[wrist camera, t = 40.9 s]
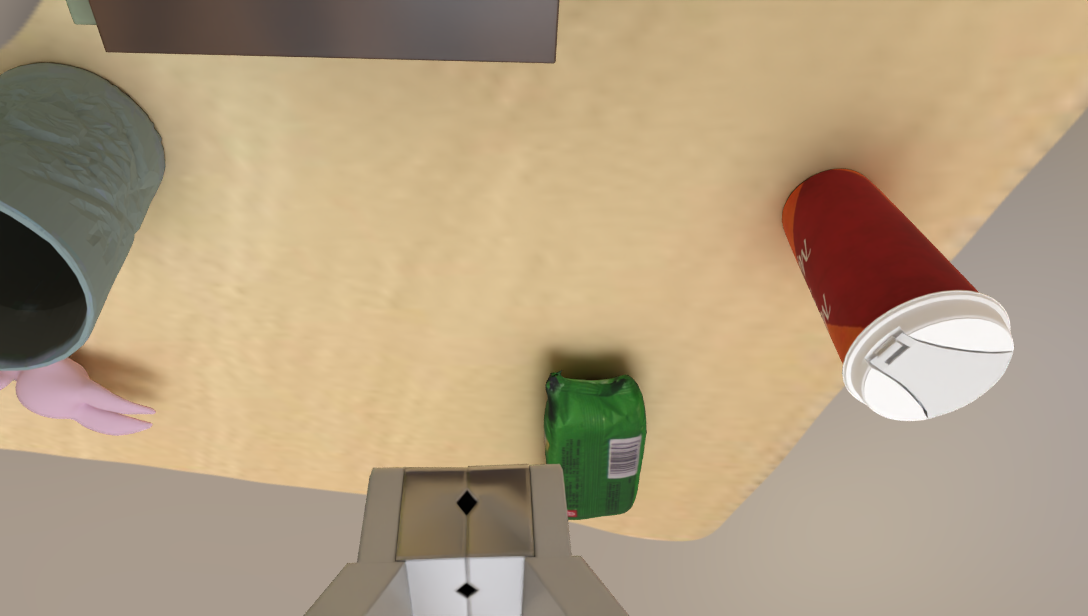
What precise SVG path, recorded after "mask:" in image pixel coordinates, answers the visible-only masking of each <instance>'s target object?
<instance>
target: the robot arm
mask: <svg viewBox="0 0 1088 616" xmlns="http://www.w3.org/2000/svg"><path fill="white" fill-rule="evenodd" d="M304 616H629V615H628V614H627V612H626V611H625V610H624V609H623V607H622V606H621V605H620V604H619V603H618V601H617V600H616V599H615V597H614V596H613V595H612V594H611V592H610V591H609V590H608V589H607V588H606V587H605V585H604V584H603V583H602V581H601V580H600V579H599V578H598V576H597V575H596V574H595V573H594V572H593V570H592V569H591V568H590V566H588V564H587V563H586V562H585V560H584V559H583V558H582V557H581V556H572V553H571V544H570V535H569V525H568V515H567V506H566V496H565V487H564V477H563V470H562V468H561V466H560V464H541V465H528V464H513V465H486V466H468V467H389V468H373V470H372V472H371V475H370V478H369V484H368V491H367V498H366V505H365V512H364V519H363V525H362V532H361V539H360V546H359V552H358V559H357V563H347V564H346V566H345V567H344V568H343V569H342V570H341V571H340V573H339V574H338V575H337V577H336V578H335V579H334V580H333V582H331V584H330V585H329V586H328V587H327V588H326V589H325V591H324V592H323V593H322V594H321V595H320V597H319V598H318V599H317V600H316V601H315V603H314V604H313V605H312V606H311V607H310V609H309V610H308V611H307V612H306V614H305V615H304Z"/></svg>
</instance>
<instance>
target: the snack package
mask: <svg viewBox="0 0 1088 616" xmlns="http://www.w3.org/2000/svg"><path fill="white" fill-rule="evenodd" d="M561 371H562V370H561ZM561 371H559V372H557V373H556V372H553V373H551V374H550V376H549V378H548V380H547V382H546V392H547V396H548V399H547V403H546V408H545V415H544V442H545V456H546V464H560V466H561V468H562V470H563V477H564V487H565V496H566V506H567V515H568V520H581V519H589V518H595V517H601V516H610V515H617V514H622V513H625V512H627V511H628V510H629V509H630V508H631V507H632V505H633V503H634V501H635V498H636V495H637V490H638V484H639V476H640V471H641V465H642V459H643V453H644V445H645V438H646V433H647V431H646V413H645V406H644V401H643V396H642V393H641V391H640V389H639V386H638V384H637V383H636V382H635V380H634V379H633V378H631V377H630V376H629V375H622V376H618V377H615V378H611V379H604V380H593V381H591V380H578V379H570V378H564V377H562V376H561Z"/></svg>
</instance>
